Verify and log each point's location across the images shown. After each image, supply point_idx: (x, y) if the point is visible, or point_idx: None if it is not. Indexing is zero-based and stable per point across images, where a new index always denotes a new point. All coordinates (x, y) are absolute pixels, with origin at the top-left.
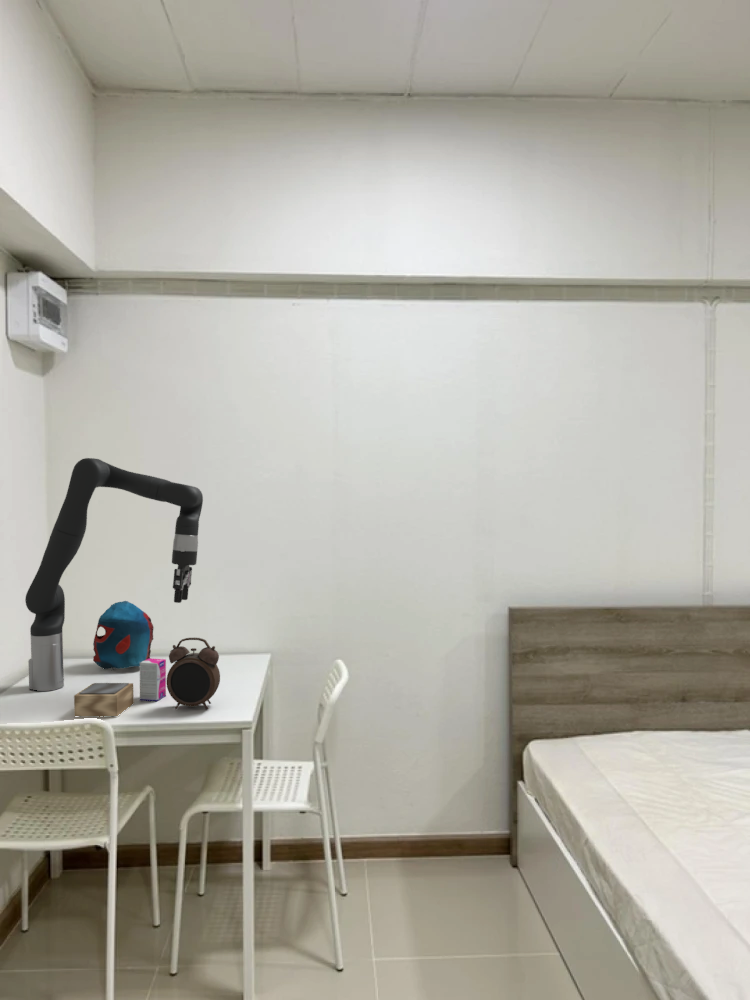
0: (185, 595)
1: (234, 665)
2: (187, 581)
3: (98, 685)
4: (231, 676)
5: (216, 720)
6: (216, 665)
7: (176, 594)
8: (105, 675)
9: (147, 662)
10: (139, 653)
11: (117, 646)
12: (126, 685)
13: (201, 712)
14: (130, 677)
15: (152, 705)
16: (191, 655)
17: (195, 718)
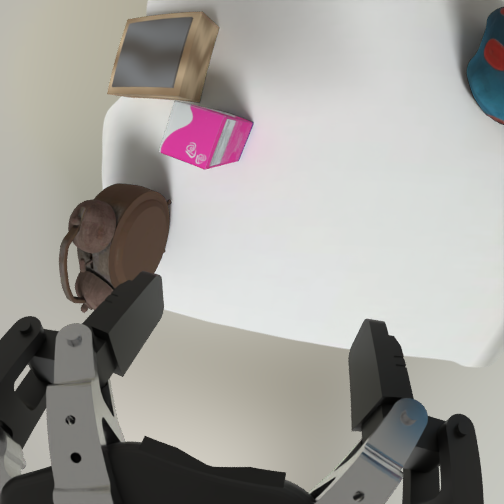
0: (356, 369)
1: (443, 312)
2: (313, 490)
3: (169, 32)
4: (362, 303)
5: None
6: None
7: (99, 315)
8: (449, 33)
9: (172, 122)
10: (495, 99)
11: (494, 41)
12: (162, 87)
13: None
14: (427, 77)
15: None
16: (87, 255)
17: None
